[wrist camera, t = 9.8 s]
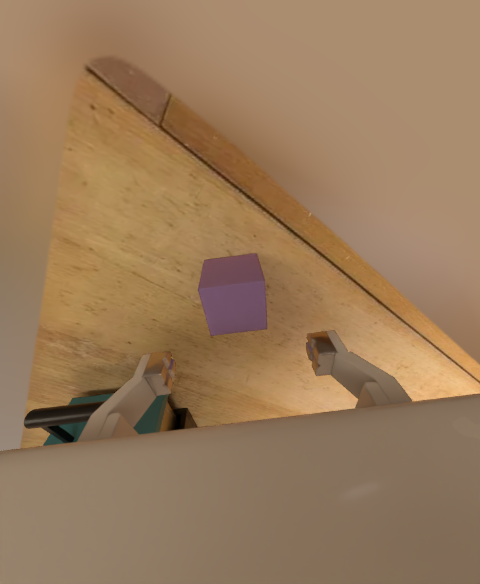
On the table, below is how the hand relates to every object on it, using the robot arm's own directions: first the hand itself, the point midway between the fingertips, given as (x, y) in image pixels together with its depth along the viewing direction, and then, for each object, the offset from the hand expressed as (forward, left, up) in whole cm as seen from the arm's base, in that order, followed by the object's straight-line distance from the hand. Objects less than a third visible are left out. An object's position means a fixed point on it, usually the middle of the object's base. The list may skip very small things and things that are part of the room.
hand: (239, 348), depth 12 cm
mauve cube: (0, 0, -7) cm, 7 cm away
